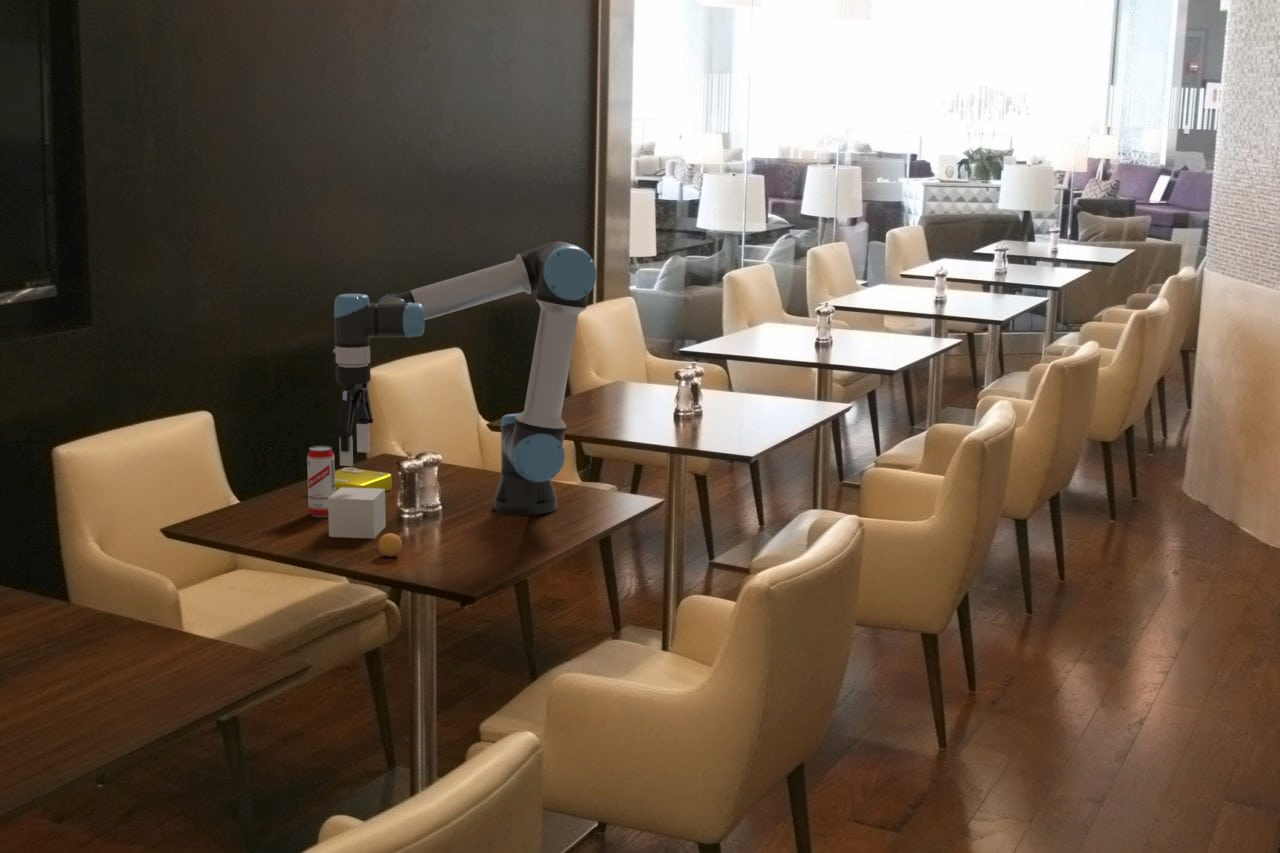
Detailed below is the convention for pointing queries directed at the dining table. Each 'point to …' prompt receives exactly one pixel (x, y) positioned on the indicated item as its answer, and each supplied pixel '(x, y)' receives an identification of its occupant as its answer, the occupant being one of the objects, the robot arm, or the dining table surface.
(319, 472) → the beer can
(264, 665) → the dining table surface
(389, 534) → the ball
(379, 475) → the element tile
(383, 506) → the white cube
